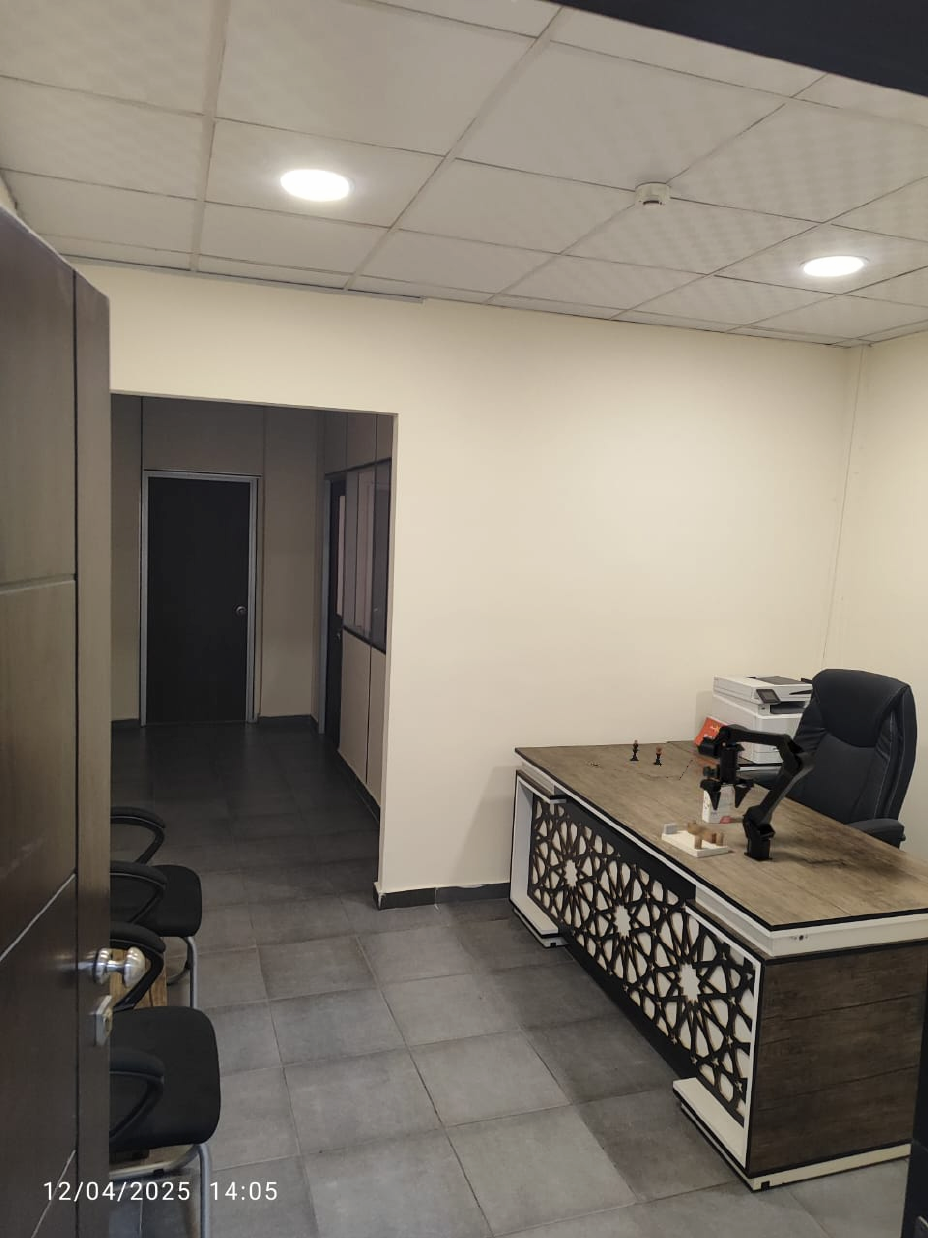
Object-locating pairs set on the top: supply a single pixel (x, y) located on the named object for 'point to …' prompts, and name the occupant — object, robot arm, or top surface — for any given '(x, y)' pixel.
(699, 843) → the white peg board
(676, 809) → the top surface
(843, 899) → the top surface
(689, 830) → the hinged leg
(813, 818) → the top surface
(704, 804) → the ink cartridge box
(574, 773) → the top surface
